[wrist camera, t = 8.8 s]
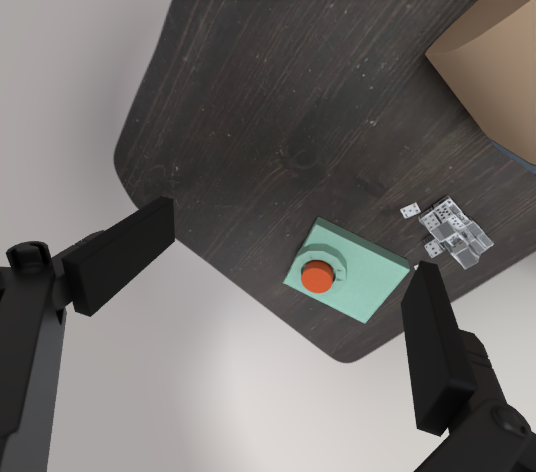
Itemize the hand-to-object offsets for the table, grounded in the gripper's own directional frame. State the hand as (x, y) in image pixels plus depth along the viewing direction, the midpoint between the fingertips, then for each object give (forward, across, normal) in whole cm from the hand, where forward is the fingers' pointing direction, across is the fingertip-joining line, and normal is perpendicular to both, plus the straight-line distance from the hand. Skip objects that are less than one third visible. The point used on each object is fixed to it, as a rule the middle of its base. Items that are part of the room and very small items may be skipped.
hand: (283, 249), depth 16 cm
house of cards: (+21, +13, -7) cm, 26 cm away
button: (+17, +2, -13) cm, 22 cm away
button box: (+21, +5, -14) cm, 26 cm away
